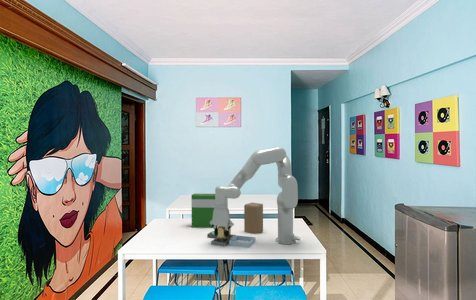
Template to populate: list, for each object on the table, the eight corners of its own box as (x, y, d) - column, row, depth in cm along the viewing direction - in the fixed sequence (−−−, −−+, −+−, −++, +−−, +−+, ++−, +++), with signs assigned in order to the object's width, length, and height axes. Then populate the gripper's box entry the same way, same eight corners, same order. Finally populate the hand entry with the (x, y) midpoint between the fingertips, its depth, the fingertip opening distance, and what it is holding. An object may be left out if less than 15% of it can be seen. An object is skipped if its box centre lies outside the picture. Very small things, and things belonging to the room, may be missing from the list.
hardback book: (216, 225, 235) (216, 193, 235) (215, 227, 228) (215, 195, 228) (193, 224, 237) (193, 193, 237) (191, 227, 230) (191, 195, 229)
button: (218, 235, 204) (218, 231, 204) (216, 237, 200) (216, 232, 200) (213, 235, 205) (213, 230, 205) (210, 236, 202) (210, 232, 202)
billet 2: (231, 238, 198) (231, 223, 198) (228, 240, 193) (228, 225, 193) (224, 237, 200) (224, 222, 200) (221, 240, 195) (221, 224, 195)
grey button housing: (221, 237, 205) (221, 232, 205) (217, 240, 198) (217, 235, 198) (212, 236, 207) (212, 231, 207) (207, 239, 201) (207, 234, 201)
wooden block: (251, 230, 222) (251, 202, 222) (263, 232, 216) (263, 203, 216) (243, 233, 214) (243, 204, 214) (256, 235, 208) (256, 205, 208)
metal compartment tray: (223, 238, 203) (223, 233, 203) (236, 239, 199) (236, 235, 199) (211, 246, 186) (211, 241, 186) (225, 248, 183) (225, 243, 183)
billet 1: (224, 244, 186) (223, 228, 186) (216, 243, 188) (216, 227, 187) (227, 242, 190) (226, 226, 190) (219, 241, 192) (219, 225, 192)
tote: (255, 242, 192) (255, 237, 192) (248, 249, 181) (248, 243, 181) (236, 240, 197) (236, 235, 197) (229, 246, 185) (229, 240, 185)
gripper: (205, 206, 188) (206, 236, 189) (232, 208, 182) (232, 239, 182) (211, 204, 195) (211, 232, 196) (236, 206, 189) (237, 235, 189)
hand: (221, 235), depth 189 cm, fingers open, 6 cm apart
